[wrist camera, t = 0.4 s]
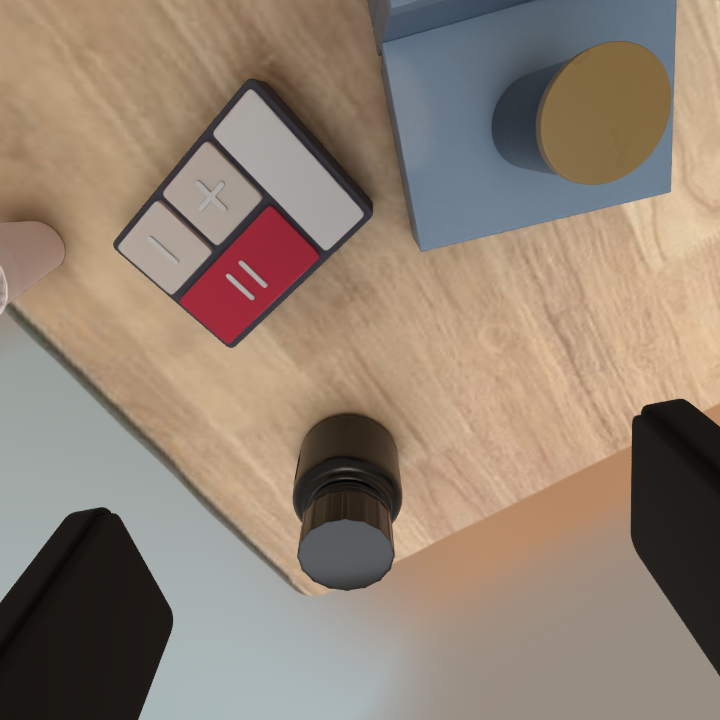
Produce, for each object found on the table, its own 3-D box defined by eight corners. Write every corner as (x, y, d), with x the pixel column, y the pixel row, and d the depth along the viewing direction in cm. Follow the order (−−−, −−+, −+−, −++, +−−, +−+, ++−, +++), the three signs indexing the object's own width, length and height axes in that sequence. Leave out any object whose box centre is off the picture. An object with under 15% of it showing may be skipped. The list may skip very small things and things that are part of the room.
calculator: (103, 248, 33) (247, 73, 28) (132, 234, 37) (263, 78, 32) (228, 355, 36) (375, 216, 31) (242, 332, 40) (375, 204, 35)
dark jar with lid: (482, 82, 28) (535, 61, 20) (580, 56, 27) (674, 23, 19) (494, 181, 30) (545, 198, 22) (584, 159, 30) (670, 168, 21)
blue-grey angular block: (339, -146, 27) (326, -358, 16) (628, -239, 26) (856, -550, 14) (412, 237, 36) (439, 286, 25) (630, 184, 35) (769, 210, 23)
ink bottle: (277, 457, 45) (252, 561, 34) (336, 392, 42) (328, 482, 31) (359, 508, 47) (360, 619, 37) (419, 450, 45) (440, 552, 34)
